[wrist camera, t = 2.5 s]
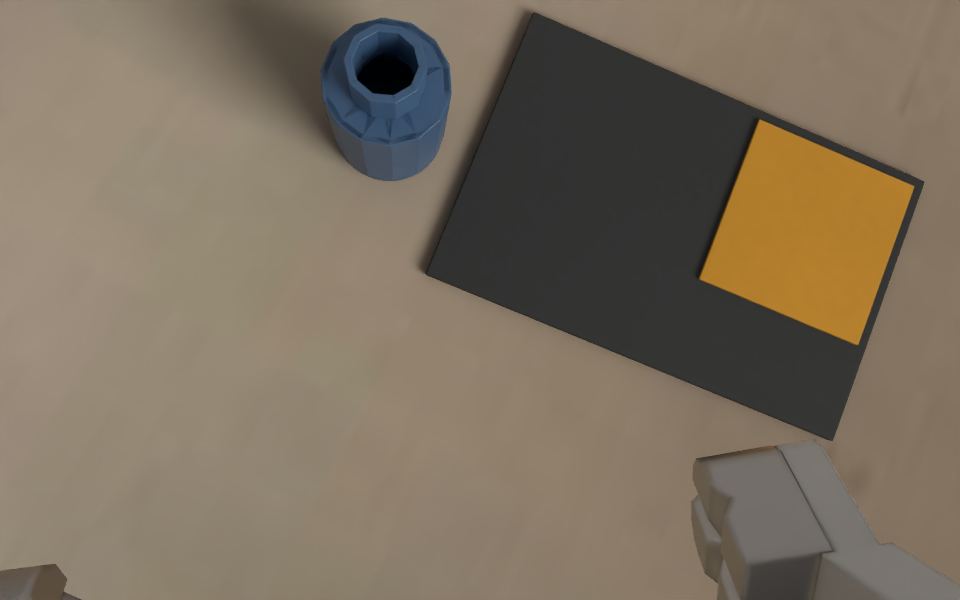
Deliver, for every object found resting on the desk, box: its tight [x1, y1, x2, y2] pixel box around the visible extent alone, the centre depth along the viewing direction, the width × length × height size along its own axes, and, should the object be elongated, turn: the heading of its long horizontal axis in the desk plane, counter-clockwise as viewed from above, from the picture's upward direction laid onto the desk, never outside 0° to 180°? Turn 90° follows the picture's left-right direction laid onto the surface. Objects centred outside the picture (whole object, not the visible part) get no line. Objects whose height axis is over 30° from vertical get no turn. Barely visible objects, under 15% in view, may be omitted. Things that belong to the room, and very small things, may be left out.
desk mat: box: [426, 13, 924, 441], centre depth 39 cm, size 20×13×1 cm, turn 68°
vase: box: [321, 18, 451, 181], centre depth 34 cm, size 5×5×8 cm
